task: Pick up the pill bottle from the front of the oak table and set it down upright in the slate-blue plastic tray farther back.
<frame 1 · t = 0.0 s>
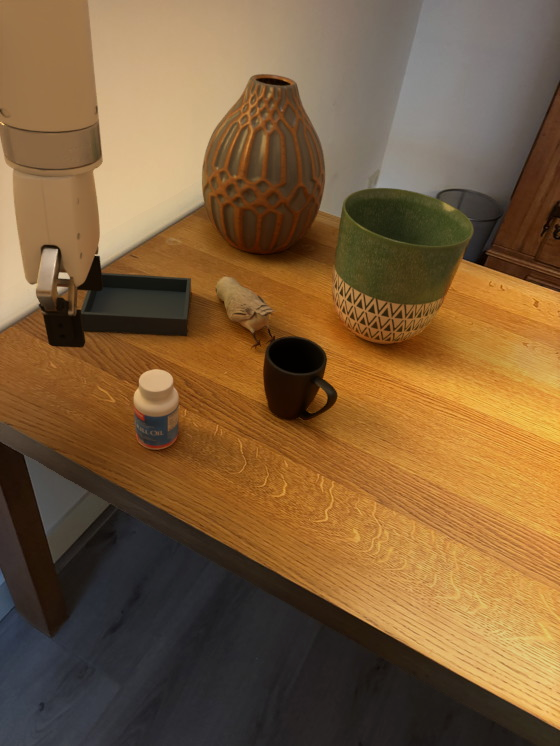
hand: (78, 315, 55), 20 cm above the table, tool pointing down, fingers open, 9 cm apart
vase: (257, 239, 115), on the table
tray: (139, 311, 91), on the table
decorative bird: (241, 324, 91), on the table
planter: (374, 331, 94), on the table
pill bottle: (157, 436, 71), on the table
mug: (294, 415, 77), on the table
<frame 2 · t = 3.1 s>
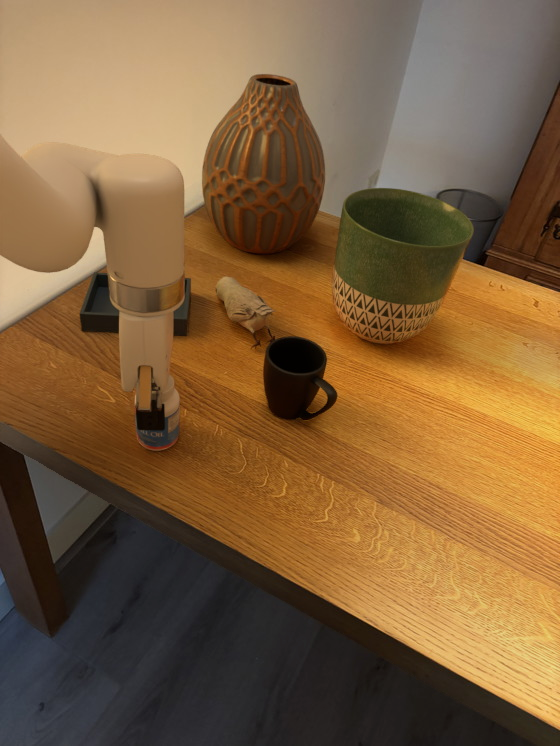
hand: (153, 409, 67), 5 cm above the table, tool pointing down, fingers closed on pill bottle, 5 cm apart
pill bottle: (158, 437, 71), on the table, touching gripper
everything else where it was.
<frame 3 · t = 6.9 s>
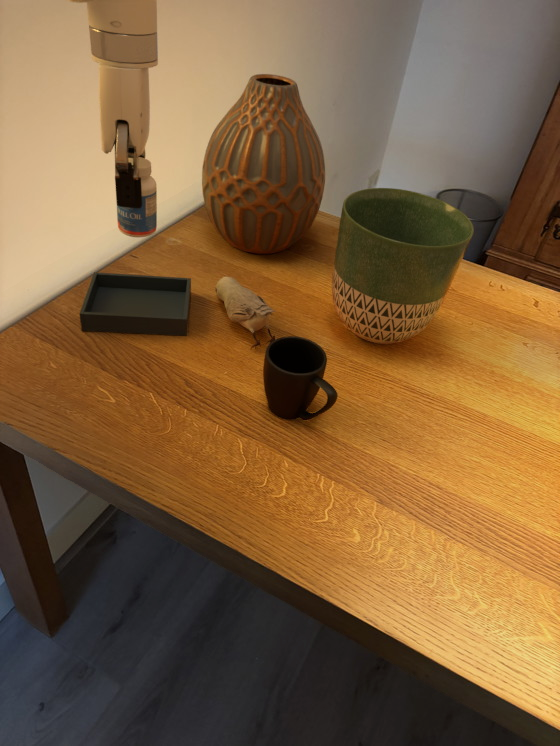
hand: (132, 195, 75), 21 cm above the table, tool pointing down, fingers closed on pill bottle, 5 cm apart
pill bottle: (137, 230, 78), point 16 cm above the table, touching gripper
everything else where it was.
when the fingers open (6 cm above the table, at t = 10.9 s): pill bottle stays where it is, resting on tray.
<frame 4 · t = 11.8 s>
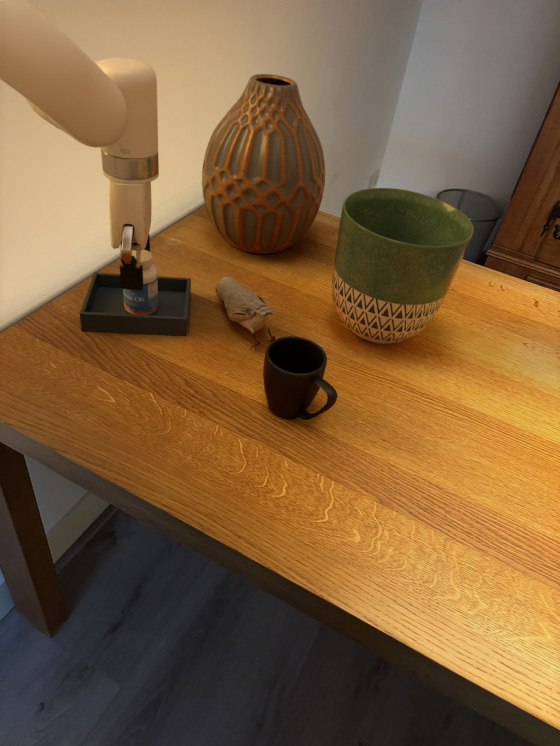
hand: (136, 272, 86), 8 cm above the table, tool pointing down, fingers open, 9 cm apart
pill bottle: (141, 308, 90), point 1 cm above the table, touching tray
everything else where it was.
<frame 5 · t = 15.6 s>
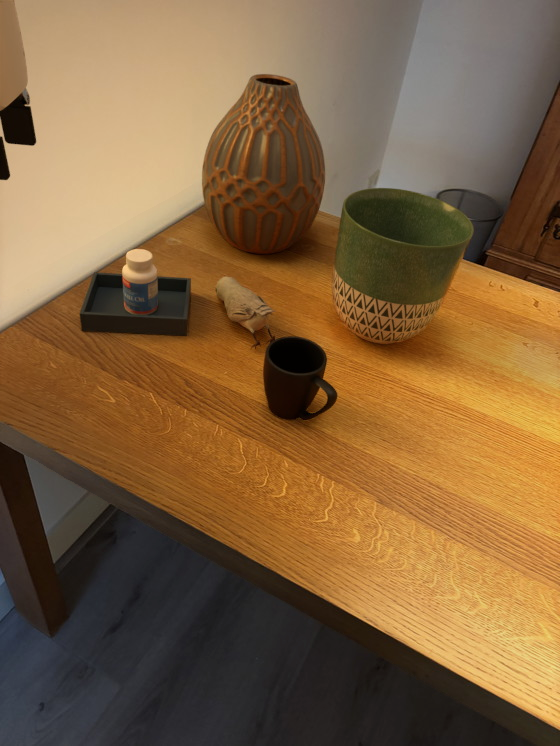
hand: (8, 159, 57), 30 cm above the table, tool pointing down, fingers open, 9 cm apart
nothing on the table moved.
at the end: pill bottle inside the target area in the tray (0.3 cm from its centre), point 0.6 cm above the tray's base; pill bottle tilted 0° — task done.
